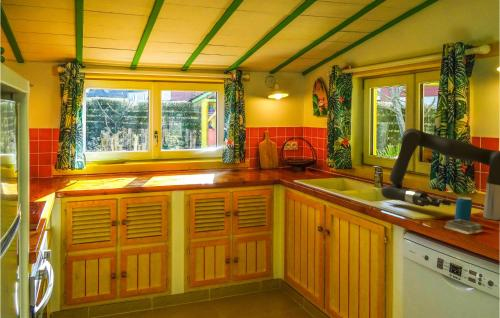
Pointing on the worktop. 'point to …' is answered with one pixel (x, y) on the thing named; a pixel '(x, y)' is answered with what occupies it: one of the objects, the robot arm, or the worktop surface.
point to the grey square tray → (463, 226)
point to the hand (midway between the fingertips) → (444, 204)
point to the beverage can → (463, 208)
